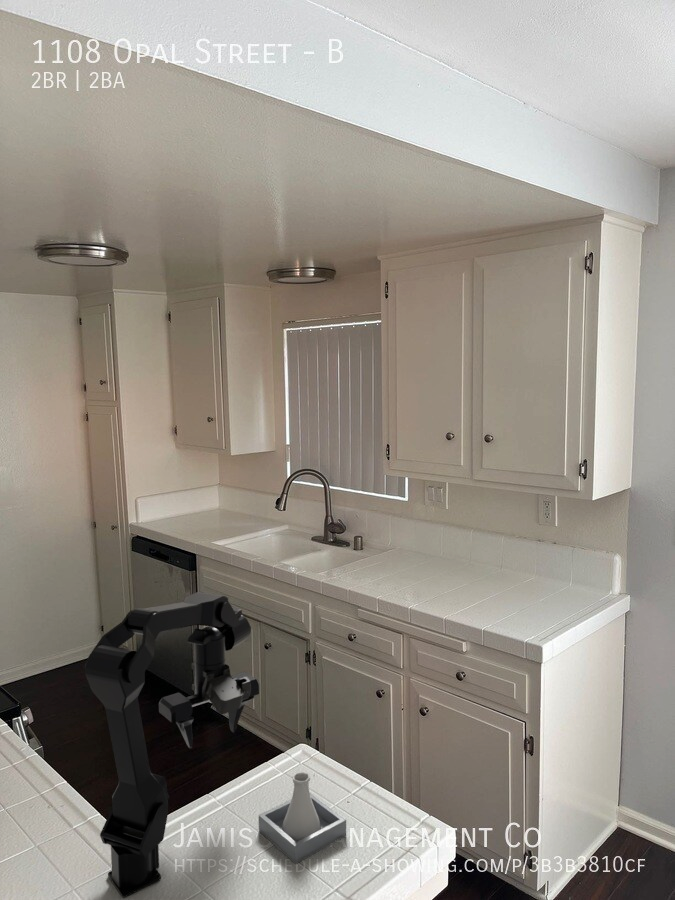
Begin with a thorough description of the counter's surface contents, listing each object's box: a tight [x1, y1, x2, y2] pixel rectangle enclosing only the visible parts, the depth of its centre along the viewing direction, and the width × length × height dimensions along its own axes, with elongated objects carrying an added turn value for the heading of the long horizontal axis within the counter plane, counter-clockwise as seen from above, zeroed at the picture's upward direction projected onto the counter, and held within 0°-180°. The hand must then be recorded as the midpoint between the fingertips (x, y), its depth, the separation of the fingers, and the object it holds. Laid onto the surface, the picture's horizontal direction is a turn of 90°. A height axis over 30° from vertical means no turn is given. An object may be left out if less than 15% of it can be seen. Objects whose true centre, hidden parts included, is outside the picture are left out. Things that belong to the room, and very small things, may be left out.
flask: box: [282, 771, 321, 842], centre depth 121 cm, size 7×7×10 cm
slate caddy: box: [258, 791, 347, 865], centre depth 121 cm, size 11×11×3 cm
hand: (211, 739), depth 130 cm, fingers open, 9 cm apart
